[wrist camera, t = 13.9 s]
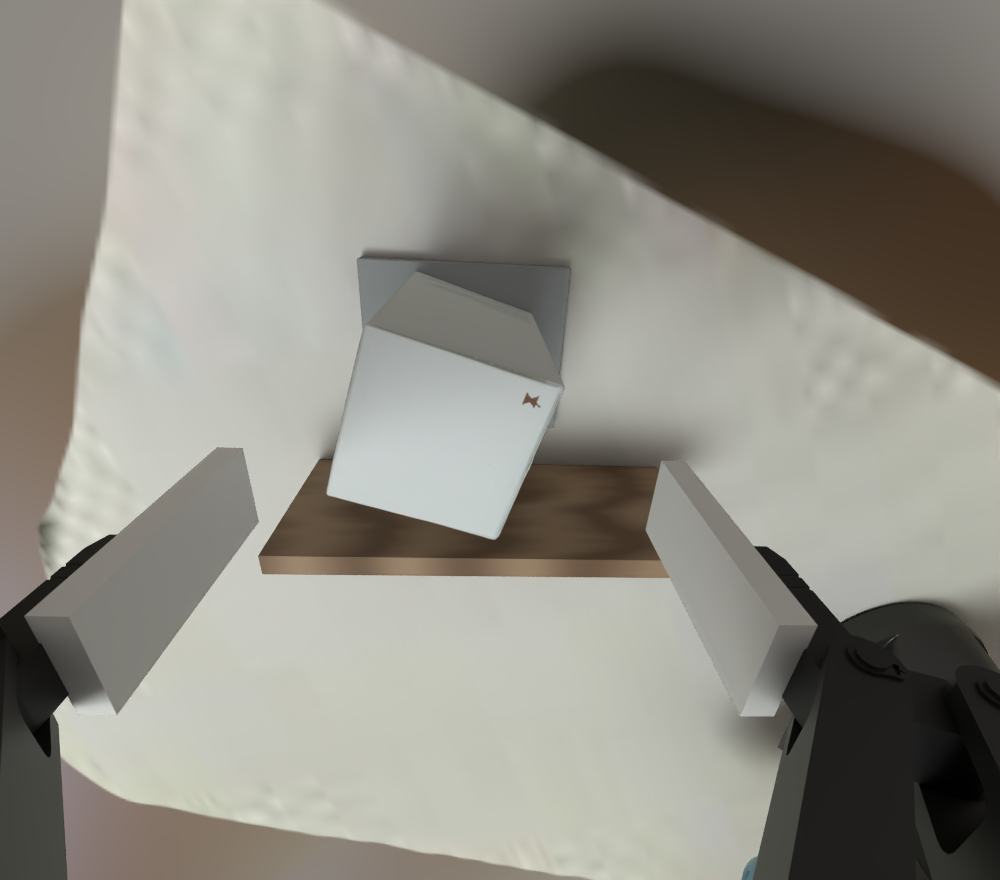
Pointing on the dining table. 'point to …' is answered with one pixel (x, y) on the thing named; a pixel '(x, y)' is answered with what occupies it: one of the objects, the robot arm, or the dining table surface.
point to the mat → (478, 289)
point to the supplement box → (444, 407)
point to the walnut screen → (450, 552)
